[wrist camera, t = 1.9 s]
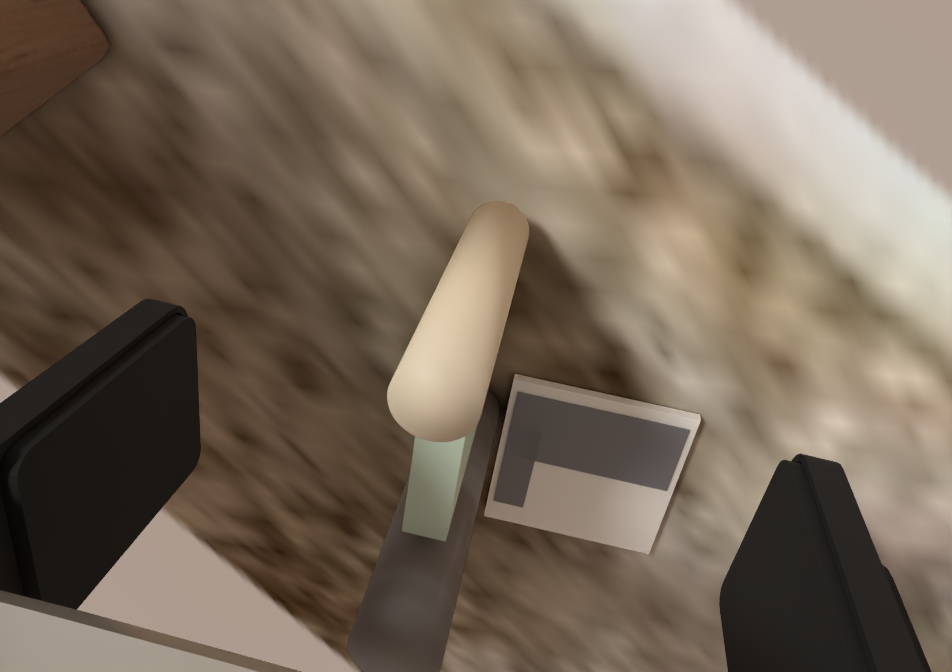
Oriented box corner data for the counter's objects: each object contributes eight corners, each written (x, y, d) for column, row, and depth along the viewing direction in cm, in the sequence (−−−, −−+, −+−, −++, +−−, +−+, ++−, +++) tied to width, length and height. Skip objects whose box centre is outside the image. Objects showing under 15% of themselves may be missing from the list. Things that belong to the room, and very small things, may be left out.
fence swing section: (497, 390, 21) (442, 610, 14) (444, 378, 21) (364, 591, 15) (534, 208, 18) (489, 373, 12) (473, 195, 19) (391, 352, 12)
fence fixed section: (466, 570, 26) (405, 839, 19) (412, 558, 26) (329, 819, 19) (504, 388, 22) (447, 634, 14) (441, 374, 22) (350, 611, 15)
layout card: (648, 547, 24) (649, 555, 24) (485, 509, 25) (483, 516, 24) (699, 414, 22) (701, 421, 21) (514, 373, 22) (513, 380, 22)
